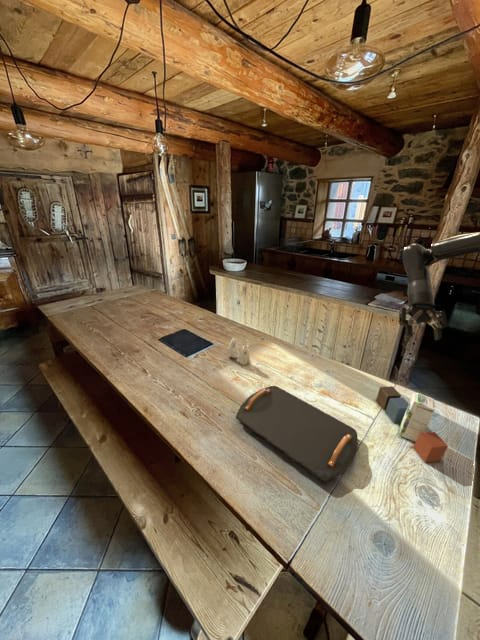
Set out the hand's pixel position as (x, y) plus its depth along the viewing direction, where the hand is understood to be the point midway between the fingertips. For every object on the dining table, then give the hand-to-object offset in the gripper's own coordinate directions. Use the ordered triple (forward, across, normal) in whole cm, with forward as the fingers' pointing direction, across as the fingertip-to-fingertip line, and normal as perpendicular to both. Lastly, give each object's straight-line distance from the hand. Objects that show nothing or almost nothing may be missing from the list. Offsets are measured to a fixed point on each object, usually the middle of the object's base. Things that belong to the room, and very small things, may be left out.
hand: (423, 338), depth 90 cm
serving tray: (+35, -41, +4) cm, 54 cm away
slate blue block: (+26, -5, +12) cm, 29 cm away
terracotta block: (+36, -1, +2) cm, 36 cm away
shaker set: (+10, -67, +29) cm, 74 cm away
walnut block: (+22, -7, +17) cm, 28 cm away
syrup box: (+31, -3, +8) cm, 32 cm away
